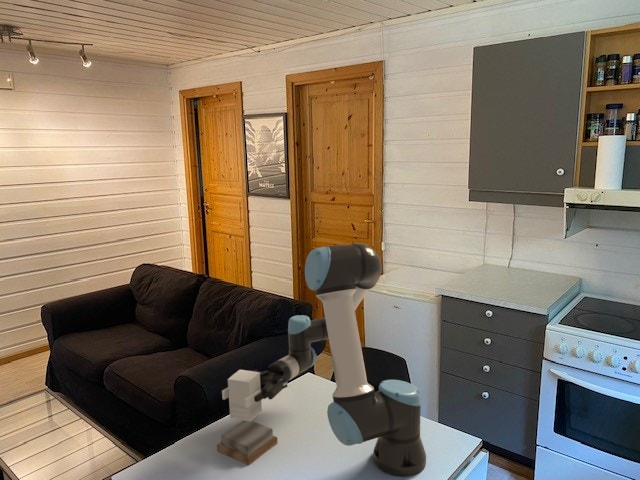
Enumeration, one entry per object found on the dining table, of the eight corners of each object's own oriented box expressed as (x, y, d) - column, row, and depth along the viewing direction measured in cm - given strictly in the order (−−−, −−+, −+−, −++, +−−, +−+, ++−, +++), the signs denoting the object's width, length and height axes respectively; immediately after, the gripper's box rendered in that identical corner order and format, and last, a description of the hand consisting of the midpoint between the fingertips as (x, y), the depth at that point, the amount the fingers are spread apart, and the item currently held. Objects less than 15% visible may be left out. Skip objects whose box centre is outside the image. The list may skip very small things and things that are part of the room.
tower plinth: (277, 443, 151) (277, 428, 150) (249, 465, 140) (248, 449, 140) (246, 430, 158) (246, 416, 157) (217, 450, 148) (216, 435, 147)
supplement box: (262, 410, 150) (260, 371, 148) (250, 422, 143) (248, 382, 141) (241, 406, 152) (239, 368, 150) (229, 418, 146) (226, 378, 144)
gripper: (308, 389, 156) (261, 421, 137) (259, 374, 168) (209, 401, 149) (308, 367, 154) (260, 396, 136) (258, 353, 166) (208, 378, 148)
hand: (234, 399), depth 143 cm, fingers closed on supplement box, 8 cm apart
